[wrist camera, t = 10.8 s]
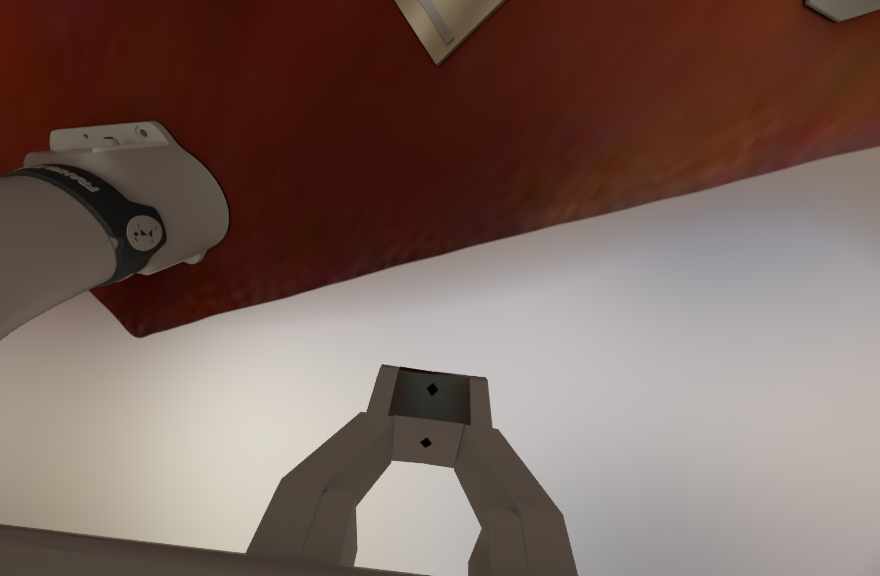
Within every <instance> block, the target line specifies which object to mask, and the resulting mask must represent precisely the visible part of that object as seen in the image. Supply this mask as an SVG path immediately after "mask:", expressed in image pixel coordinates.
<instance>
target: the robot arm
mask: <svg viewBox="0 0 880 576" xmlns="http://www.w3.org/2000/svg"><path fill="white" fill-rule="evenodd" d="M145 131H146V132H145ZM146 133H147V134H146ZM228 225H229V212H228V206H227V203H226V200H225V197H224V195H223V192H222V190H221V188H220V187H219V185H218V183H217V182H216V180H215V179H214V177H213V176H212V175H211V173H210V172H209V171H208V170H207V169H206V168H205V167H204V166H203V165H202V164H201V163H200V162H199V161H198V160H197V159H196V158H194V157H193V156H192V155H190V154H189V153H188V152H186V151H185V150H184V149H183V148H181V147H180V146H179V145H178V144H177V143H176V141H175V140H174V139H173V137H172V136H171V135H170V134H169V132H168V131H167V130H166V129H165V128H164V127H163V126H162V125H161V124H160V123H158V122H156V121H143V122H132V123H121V124H110V125H99V126H88V127H77V128H66V129H59V130H54V131H52V132H51V135H50V150H49V151H39V152H31V153H28V154H27V155H26V157H25V159H24V167H22V168H18V169H15V170H14V171H12V172H9V173H6V174H4V175H2V176H1V175H0V340H2V339H3V338H4V337H6V336H7V335H8V334H9V333H11V332H12V331H14V330H15V329H17V328H18V327H20V326H21V325H23V324H25V323H26V322H28V321H30V320H31V319H33V318H35V317H37V316H39V315H40V314H42V313H44V312H46V311H48V310H50V309H51V308H53V307H55V306H57V305H59V304H61V303H63V302H65V301H67V300H68V299H71V298H73V297H75V296H77V295H79V294H81V293H83V292H85V291H87V290H89V289H91V288H94V287H103V286H107V285H110V284H112V283H114V282H115V283H116V282H119V281H122V280H124V279H126V278H129V277H130V276H131V275H133V274H135V273H140V274H143V275H150V274H153V273H156V272H158V271H161V270H163V269H166V268H168V267H171V266H173V265H176V264H178V263H181V262H186V263H189V264H195V263H198V262H200V261H202V259H203V258H204V256H205V254H206V251H207V250H208V249H209V248H211V247H213V246H215V245H216V244H218V243H219V242H220V241H221V240H222V239H223V238H224V236H225V234H226V232H227V229H228ZM391 460H393V461H404V462H414V463H424V464H430V465H437V466H444V467H450V468H454V471H455V473H456V475H457V477H458V479H459V481H460V484H461V486H462V488H463V490H464V492H465V494H466V496H467V498H468V500H469V502H470V504H471V506H472V508H473V510H474V513H475V515H476V517H477V519H478V521H479V523H480V525H481V527H482V529H481V532H480V534H479V537H478V539H477V542H476V544H475V547H474V549H473V552H472V554H471V557H470V559H469V562H468V576H578V574H577V570H576V566H575V562H574V558H573V554H572V550H571V546H570V541H569V537H568V533H567V529H566V526H565V521H564V517H563V514H562V513H561V512H560V510H559V509H558V508H557V506H556V505H555V504H554V502H553V501H552V500H551V498H550V497H549V496H548V495H547V493H546V492H545V491H544V489H543V488H542V486H541V485H540V484H539V483H538V481H537V480H536V479H535V477H534V476H533V475H532V473H531V472H530V471H529V469H528V468H527V467H526V465H525V464H524V463H523V461H522V460H521V459H520V457H519V456H518V455H517V454H516V452H515V451H514V450H513V448H512V447H511V446H510V444H509V443H508V442H507V440H506V439H505V438H504V436H503V435H502V434H501V433H500V431H499V430H498V429H494V428H492V419H491V410H490V400H489V390H488V381H487V379H486V378H485V377H477V376H467V375H460V374H450V373H443V372H432V371H425V370H419V369H412V368H406V367H396V366H390V365H384V364H382V366H381V368H380V370H379V373H378V376H377V379H376V383H375V386H374V389H373V393H372V396H371V399H370V402H369V406H368V409H367V412H366V413H365V412H360V413H359V414H358V415H357V416H356V417H354V418H353V419H352V420H351V421H350V422H348V423H347V424H346V425H345V426H344V427H343V428H341V429H340V430H339V431H338V432H337V433H336V434H334V435H333V436H332V437H331V438H329V439H328V440H327V441H326V442H325V443H324V444H322V445H321V446H320V447H319V448H318V449H316V451H314V452H313V453H312V454H311V455H309V456H308V457H307V458H306V459H305V460H304V461H302V462H301V463H300V464H299V465H298V466H296V467H295V468H294V469H293V470H292V471H290V472H289V473H288V474H287V475H286V476H285V477H283V478H282V479H281V481H280V483H279V485H278V487H277V489H276V491H275V493H274V495H273V497H272V499H271V501H270V503H269V506H268V508H267V510H266V512H265V514H264V516H263V518H262V520H261V522H260V524H259V526H258V528H257V531H256V532H255V535H254V537H253V539H252V541H251V543H250V545H249V547H248V549H247V552H246V553H237V552H229V551H221V550H212V549H204V548H195V547H187V546H179V545H170V544H162V543H153V542H145V541H137V540H129V539H120V538H112V537H103V536H95V535H87V534H78V533H70V532H62V531H53V530H45V529H36V528H28V527H19V526H11V525H3V524H0V576H430V575H420V574H413V573H405V572H396V571H388V570H379V569H371V568H362V567H355V566H354V562H355V558H356V553H357V528H356V527H357V526H356V506H357V505H358V504H359V502H360V501H361V500H362V499H363V497H364V496H365V495H366V493H367V492H368V491H369V490H370V488H371V487H372V486H373V485H374V483H375V482H376V481H377V480H378V478H379V477H380V475H382V473H383V472H384V471H385V470H386V468H387V467H388V466H389V465H390V463H391Z"/></svg>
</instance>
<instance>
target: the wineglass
mask: <svg viewBox="0 0 880 576" xmlns="http://www.w3.org/2000/svg"><path fill="white" fill-rule="evenodd" d="M804 5H806V6H808V7H810V8H811V9H813V10H815V11H817V12H818V13H820V14H822V15H823V16H825V17H827V18H829V19H830V20H832V21H834V22H841V21H844V20H847V19H851V18H854V17H857V16H861V15H864V14H867V13H871V12H874V11H878V10H880V0H805V2H804Z"/></svg>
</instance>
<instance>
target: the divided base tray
mask: <svg viewBox="0 0 880 576" xmlns="http://www.w3.org/2000/svg"><path fill="white" fill-rule="evenodd" d="M505 1H506V0H395V2H396V3H397V5H398V7H399V8H400V10H401V11H402V13H403V14H404V16H405V17H406V19H407V20H408V22H409V23H410V25H411V27H412V28H413V30H414V31H415V33H416V34H417V36H418V37H419V39H420V40H421V42H422V44H423V45H424V47H425V48H426V50H427V51H428V53H429V54H430V56H431V57H432V59H433V60H434V62H435V64H436V65H437V66H439V65H440V64H441V63H442V62H443V61H444V60H445V59H446V58H447V57H448V56H449V55H450V54H451V53H452V52H453V51H454V50H455V49H456V48H457V47H458V46H459V45H460V44H462V43H463V42H464V41H465V40H466V39H467V38H468V37H469V36H470V35H471V34H472V33H473V32H474V31H475V30H476V29H477V28H478V27H479V26H480V25H481V24H482V23H483V22H484V21H485V20H486V19H487V18H488V17H489V16H490V15H491V14H492V13H493V12H494V11H495V10H496V9H497V8H498V7H500V6H501V5H502V4H503V3H504V2H505Z"/></svg>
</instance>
